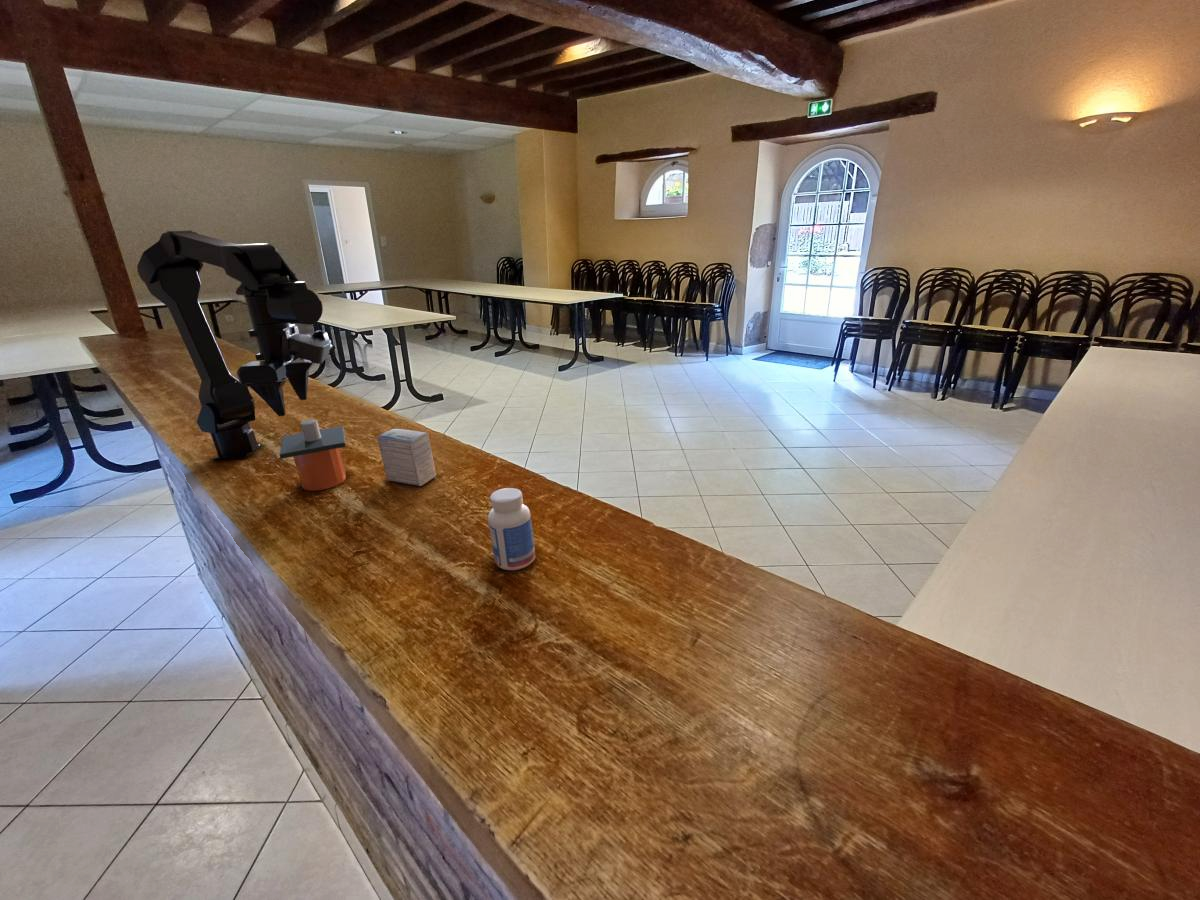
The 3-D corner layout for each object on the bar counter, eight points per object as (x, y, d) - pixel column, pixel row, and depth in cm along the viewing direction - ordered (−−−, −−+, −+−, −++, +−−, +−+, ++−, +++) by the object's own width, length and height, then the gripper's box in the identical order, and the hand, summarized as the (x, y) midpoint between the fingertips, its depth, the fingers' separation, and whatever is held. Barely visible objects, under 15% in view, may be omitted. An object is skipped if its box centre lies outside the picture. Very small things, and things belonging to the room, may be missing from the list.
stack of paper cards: (437, 477, 99) (429, 432, 96) (420, 487, 96) (411, 441, 92) (403, 471, 103) (394, 427, 99) (386, 481, 99) (376, 436, 95)
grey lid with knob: (280, 459, 91) (273, 436, 89) (284, 439, 99) (278, 419, 98) (345, 446, 95) (340, 424, 93) (343, 429, 103) (338, 409, 102)
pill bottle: (542, 551, 75) (535, 487, 71) (524, 574, 70) (516, 507, 67) (506, 546, 77) (498, 483, 73) (487, 568, 72) (476, 502, 68)
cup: (295, 492, 96) (283, 453, 93) (311, 474, 103) (301, 437, 100) (338, 488, 97) (327, 449, 94) (351, 471, 103) (342, 434, 101)
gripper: (295, 329, 87) (318, 422, 93) (337, 311, 104) (354, 390, 110) (222, 333, 86) (250, 426, 93) (277, 313, 104) (297, 393, 110)
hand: (293, 407), depth 101 cm, fingers open, 9 cm apart
